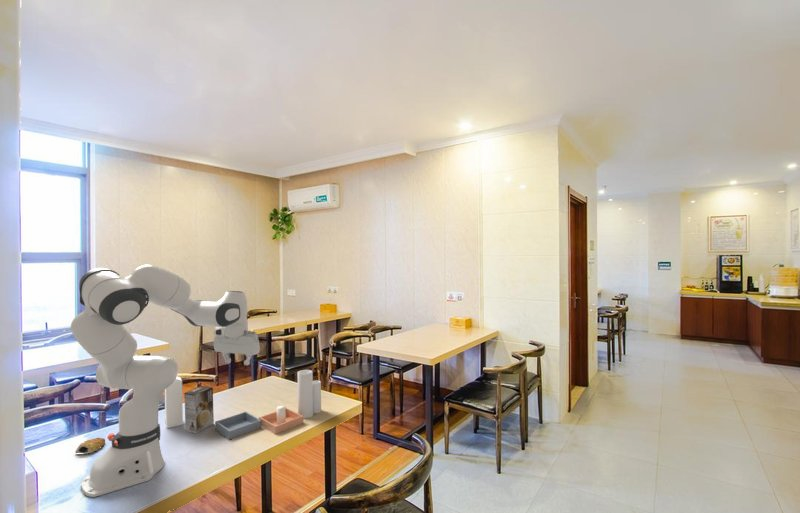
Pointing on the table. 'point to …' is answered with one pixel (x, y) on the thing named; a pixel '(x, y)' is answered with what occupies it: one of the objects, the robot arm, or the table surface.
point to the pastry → (90, 445)
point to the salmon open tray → (291, 421)
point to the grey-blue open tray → (237, 425)
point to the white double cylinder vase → (308, 394)
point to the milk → (174, 404)
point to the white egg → (281, 415)
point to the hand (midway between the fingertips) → (237, 363)
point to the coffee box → (198, 409)
